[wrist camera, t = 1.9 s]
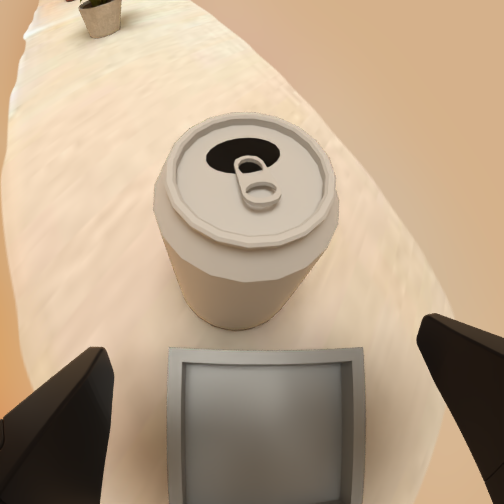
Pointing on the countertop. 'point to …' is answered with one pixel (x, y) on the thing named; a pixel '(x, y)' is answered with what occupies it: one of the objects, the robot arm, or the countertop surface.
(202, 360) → the tray
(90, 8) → the house plant
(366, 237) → the countertop surface
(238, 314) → the can
